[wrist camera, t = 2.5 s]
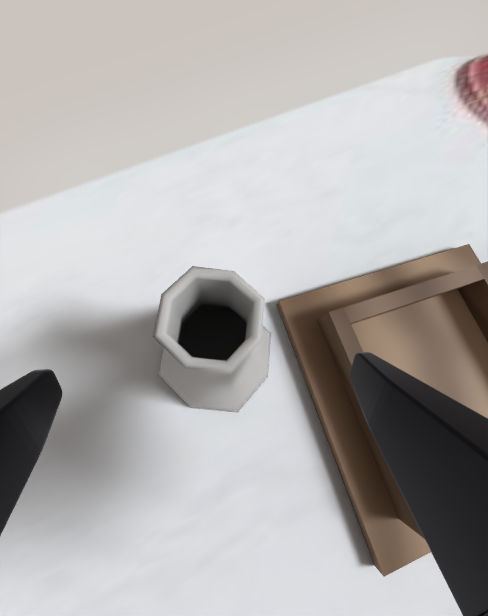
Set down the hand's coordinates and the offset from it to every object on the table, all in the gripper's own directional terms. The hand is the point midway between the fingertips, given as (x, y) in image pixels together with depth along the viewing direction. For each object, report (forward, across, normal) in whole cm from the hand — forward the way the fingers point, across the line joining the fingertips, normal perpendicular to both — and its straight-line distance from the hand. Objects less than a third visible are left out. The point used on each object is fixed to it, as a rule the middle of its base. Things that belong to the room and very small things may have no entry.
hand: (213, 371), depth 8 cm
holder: (+6, -14, +7) cm, 17 cm away
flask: (+8, 0, +6) cm, 9 cm away
